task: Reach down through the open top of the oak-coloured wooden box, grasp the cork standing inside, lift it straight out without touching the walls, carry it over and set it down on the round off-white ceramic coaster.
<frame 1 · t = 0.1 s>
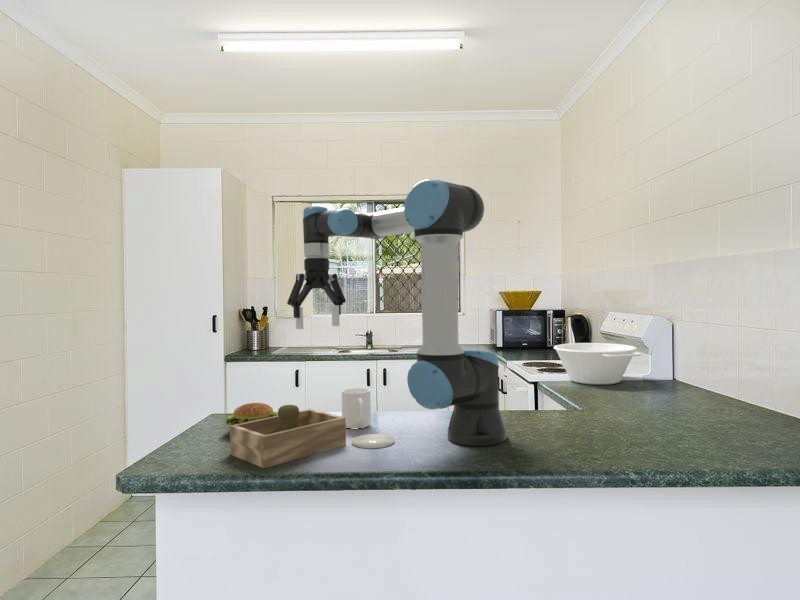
hand: (318, 327, 163), 28 cm above the countertop, fingers open, 13 cm apart
food: (252, 432, 150), on the countertop
mug: (358, 428, 152), on the countertop
access box: (289, 449, 132), on the countertop
pot: (594, 382, 218), on the countertop
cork: (289, 450, 132), resting in access box
coaster: (373, 442, 137), on the countertop
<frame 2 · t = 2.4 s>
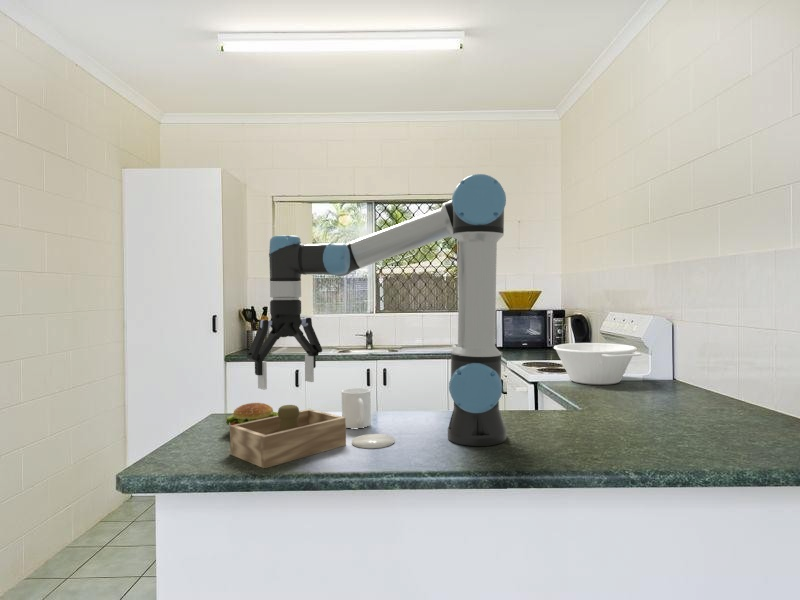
hand: (286, 385, 132), 16 cm above the countertop, fingers open, 13 cm apart
nothing on the countertop moved.
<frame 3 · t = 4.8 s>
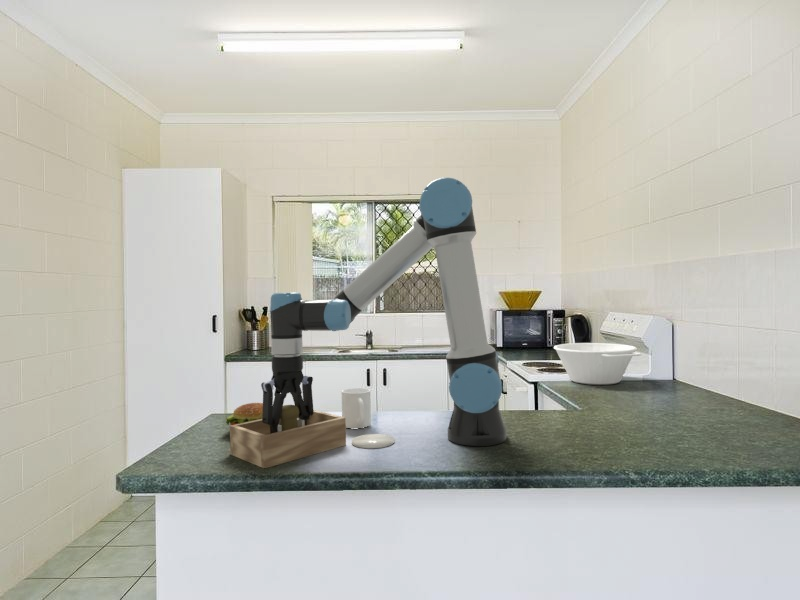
hand: (289, 448, 132), 0 cm above the countertop, fingers closed on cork, 6 cm apart
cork: (289, 450, 132), resting in access box, touching gripper
everything else where it was.
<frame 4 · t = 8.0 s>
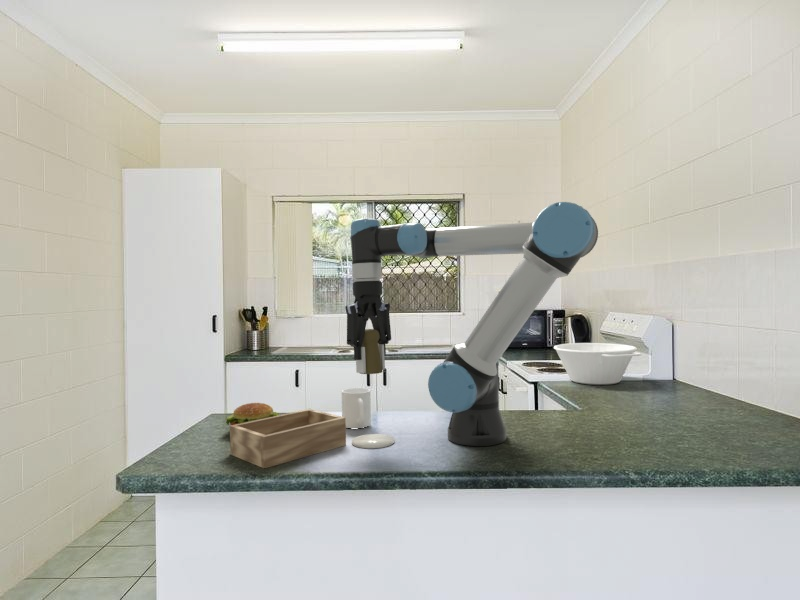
hand: (370, 370, 136), 18 cm above the countertop, fingers closed on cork, 6 cm apart
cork: (370, 373, 136), point 18 cm above the countertop, touching gripper
everything else where it was.
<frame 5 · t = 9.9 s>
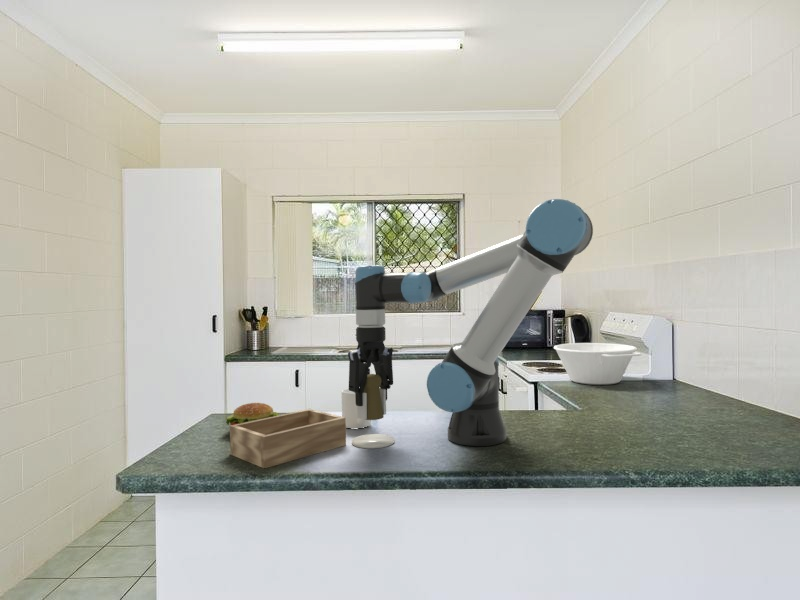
hand: (372, 415, 137), 7 cm above the countertop, fingers closed on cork, 6 cm apart
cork: (371, 417, 137), point 6 cm above the countertop, touching gripper
everything else where it was.
when the fingers open (2 cm above the countertop, at t = 11.4 s): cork drops 1 cm, resting on coaster.
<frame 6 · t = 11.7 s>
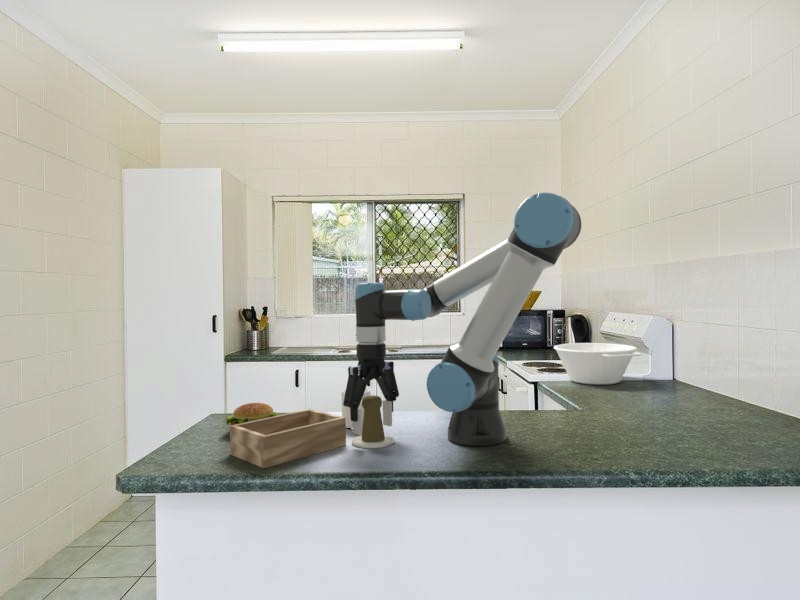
hand: (372, 429, 137), 3 cm above the countertop, fingers open, 10 cm apart
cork: (373, 439, 137), point 1 cm above the countertop, touching coaster
everything else where it was.
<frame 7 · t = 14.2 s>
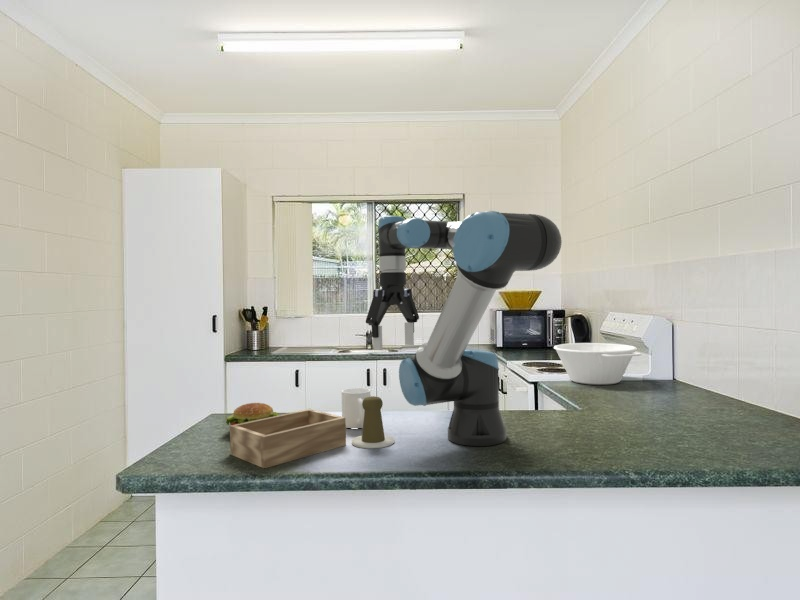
hand: (394, 347, 151), 23 cm above the countertop, fingers open, 13 cm apart
nothing on the countertop moved.
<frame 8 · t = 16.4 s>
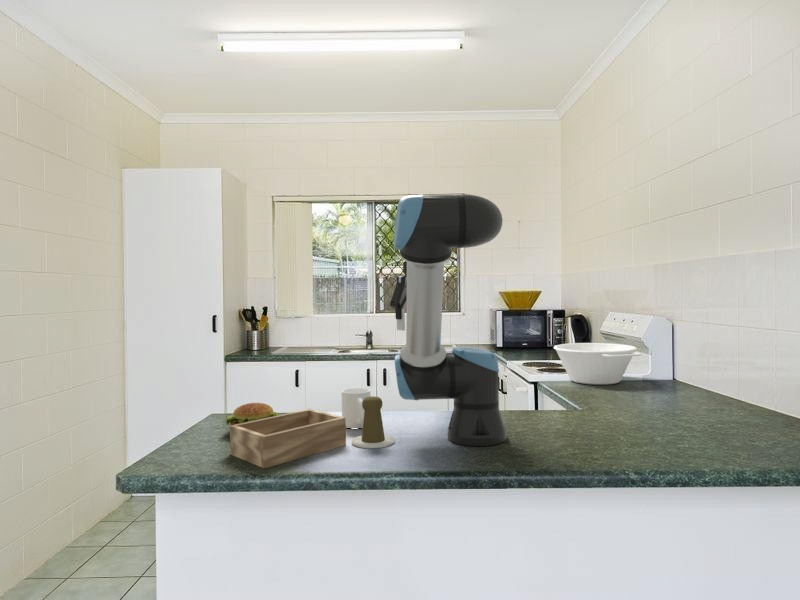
hand: (416, 328, 166), 27 cm above the countertop, fingers open, 13 cm apart
nothing on the countertop moved.
at the end: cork inside the target area on the coaster (0.0 cm from its centre), point 0.4 cm above the coaster's base; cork tilted 0°; the gripper is holding nothing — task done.
